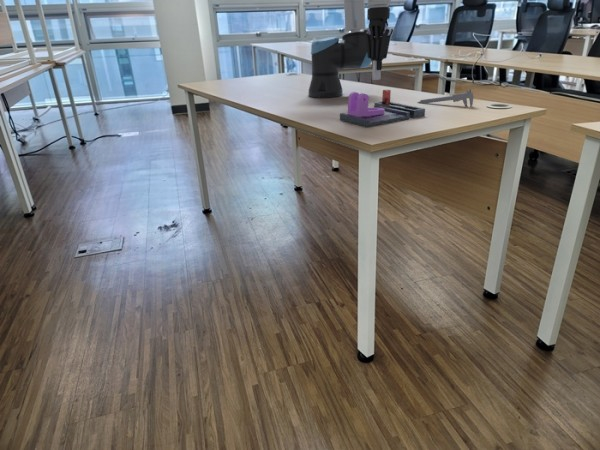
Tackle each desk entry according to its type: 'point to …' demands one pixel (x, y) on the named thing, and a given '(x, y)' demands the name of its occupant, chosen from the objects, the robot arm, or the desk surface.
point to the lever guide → (403, 109)
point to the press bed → (376, 117)
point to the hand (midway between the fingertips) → (376, 79)
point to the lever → (387, 97)
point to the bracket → (361, 106)
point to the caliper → (452, 98)
